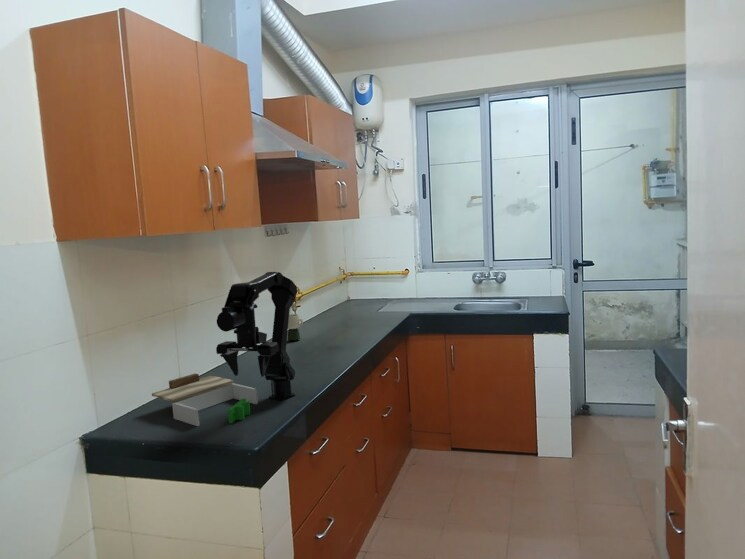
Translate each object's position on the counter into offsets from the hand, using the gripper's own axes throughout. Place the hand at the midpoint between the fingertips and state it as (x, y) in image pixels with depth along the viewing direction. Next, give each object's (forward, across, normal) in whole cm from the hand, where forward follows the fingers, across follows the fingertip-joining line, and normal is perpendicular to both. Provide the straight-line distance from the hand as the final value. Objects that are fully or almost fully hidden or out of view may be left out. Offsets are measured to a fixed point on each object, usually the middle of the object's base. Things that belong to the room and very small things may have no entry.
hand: (249, 375), depth 162 cm
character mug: (+11, +37, -100) cm, 107 cm away
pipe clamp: (+13, +4, +1) cm, 13 cm away
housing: (+13, +14, -2) cm, 19 cm away
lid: (+7, +26, -7) cm, 28 cm away
